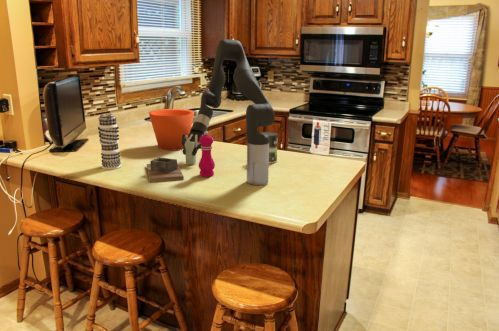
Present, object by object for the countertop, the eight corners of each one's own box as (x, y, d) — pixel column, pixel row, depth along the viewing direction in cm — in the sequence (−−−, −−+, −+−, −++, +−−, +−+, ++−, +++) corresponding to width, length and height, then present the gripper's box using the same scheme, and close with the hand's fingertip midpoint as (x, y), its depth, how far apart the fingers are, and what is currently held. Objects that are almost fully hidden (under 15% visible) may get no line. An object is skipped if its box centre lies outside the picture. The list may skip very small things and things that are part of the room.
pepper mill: (200, 172, 192) (199, 129, 187) (215, 172, 192) (215, 129, 186) (197, 177, 185) (196, 132, 180) (214, 177, 185) (213, 133, 180)
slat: (195, 163, 206) (195, 142, 203) (193, 165, 204) (193, 142, 201) (187, 162, 208) (187, 141, 205) (185, 163, 206) (185, 141, 203)
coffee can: (278, 159, 217) (279, 132, 213) (275, 164, 207) (276, 136, 203) (258, 157, 219) (259, 131, 215) (254, 163, 209) (255, 135, 205)
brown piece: (176, 164, 204) (176, 152, 202) (183, 179, 182) (183, 166, 180) (146, 166, 200) (146, 154, 198) (150, 182, 178) (149, 168, 176)
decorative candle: (113, 170, 193) (109, 116, 187) (97, 168, 197) (92, 115, 190) (125, 165, 202) (122, 113, 195) (109, 163, 205) (105, 112, 198)
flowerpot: (176, 154, 223) (174, 117, 218) (141, 148, 235) (138, 113, 230) (203, 145, 244) (203, 111, 239) (170, 140, 256) (169, 107, 251)
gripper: (185, 119, 210) (172, 148, 202) (210, 122, 204) (198, 151, 197) (190, 128, 216) (178, 156, 208) (215, 131, 210) (204, 160, 203)
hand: (188, 154), depth 203 cm, fingers closed on slat, 4 cm apart
